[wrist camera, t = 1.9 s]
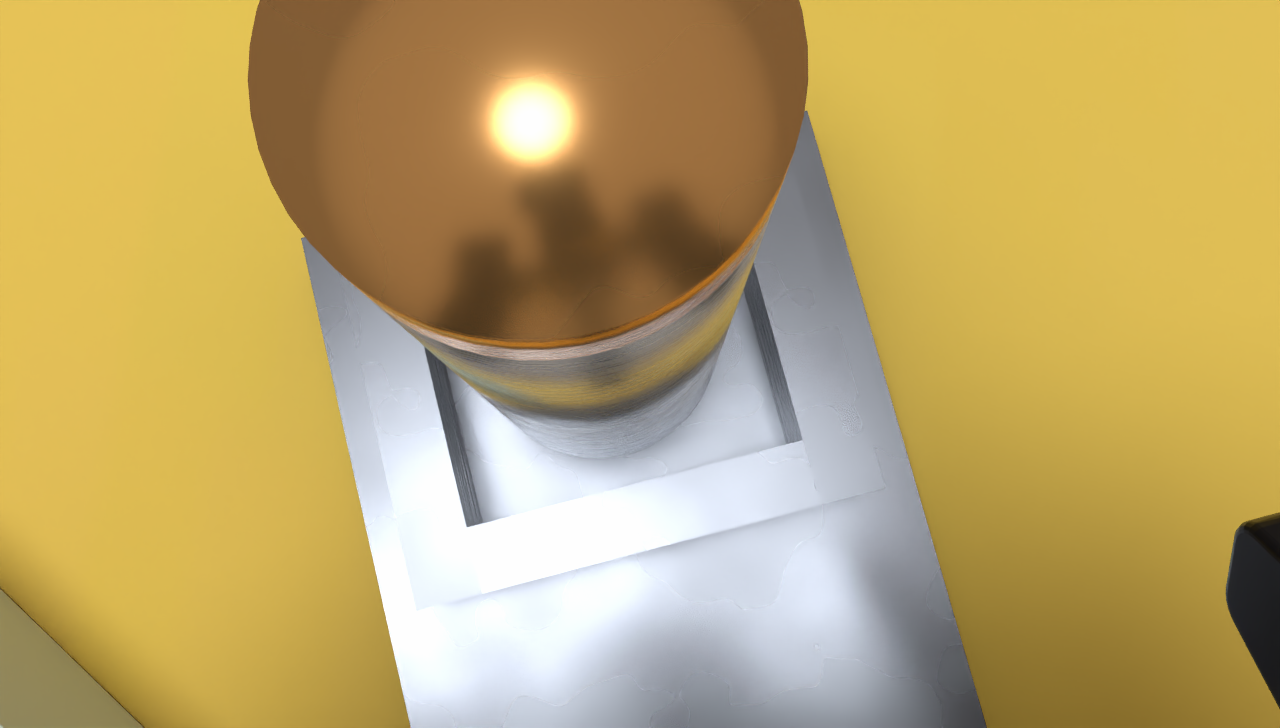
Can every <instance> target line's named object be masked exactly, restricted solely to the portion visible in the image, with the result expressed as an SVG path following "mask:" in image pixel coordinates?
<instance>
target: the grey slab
mask: <svg viewBox="0 0 1280 728" xmlns="http://www.w3.org/2000/svg"><path fill="white" fill-rule="evenodd" d="M301 240H302V244H303V249H304V253H305V257H306V262H307V266H308V271H309V275H310V280H311V284H312V289H313V293H314V298H315V302H316V307H317V311H318V316H319V320H320V325H321V329H322V333H323V338H324V342H325V347H326V351H327V356H328V360H329V365H330V369H331V374H332V378H333V383H334V387H335V392H336V396H337V401H338V405H339V409H340V414H341V418H342V423H343V427H344V432H345V436H346V441H347V445H348V450H349V454H350V459H351V463H352V468H353V472H354V476H355V481H356V485H357V490H358V494H359V499H360V503H361V508H362V512H363V517H364V521H365V526H366V530H367V535H368V539H369V544H370V548H371V552H372V557H373V561H374V566H375V570H376V575H377V579H378V584H379V588H380V593H381V597H382V602H383V606H384V611H385V615H386V620H387V624H388V628H389V633H390V637H391V642H392V646H393V651H394V655H395V660H396V664H397V669H398V673H399V678H400V682H401V687H402V691H403V696H404V700H405V704H406V709H407V713H408V718H409V722H410V727H411V728H987V727H986V723H985V720H984V717H983V713H982V710H981V706H980V703H979V699H978V696H977V693H976V689H975V686H974V682H973V679H972V675H971V672H970V669H969V665H968V662H967V658H966V655H965V651H964V648H963V644H962V641H961V638H960V634H959V631H958V627H957V624H956V620H955V617H954V614H953V610H952V607H951V603H950V600H949V596H948V593H947V590H946V586H945V583H944V579H943V576H942V572H941V569H940V565H939V562H938V559H937V555H936V552H935V548H934V545H933V541H932V538H931V535H930V531H929V528H928V524H927V521H926V517H925V514H924V511H923V507H922V504H921V500H920V497H919V493H918V490H917V486H916V483H915V480H914V476H913V473H912V469H911V466H910V462H909V459H908V456H907V452H906V449H905V445H904V442H903V438H902V435H901V432H900V428H899V425H898V421H897V418H896V414H895V411H894V407H893V404H892V401H891V397H890V394H889V390H888V387H887V383H886V380H885V377H884V373H883V370H882V366H881V363H880V359H879V356H878V352H877V349H876V346H875V342H874V339H873V335H872V332H871V328H870V325H869V322H868V318H867V315H866V311H865V308H864V304H863V301H862V298H861V294H860V291H859V287H858V284H857V280H856V277H855V273H854V270H853V267H852V263H851V260H850V256H849V253H848V249H847V246H846V243H845V239H844V236H843V232H842V229H841V225H840V222H839V219H838V215H837V212H836V208H835V205H834V201H833V198H832V194H831V191H830V188H829V184H828V181H827V177H826V174H825V170H824V167H823V164H822V160H821V157H820V153H819V150H818V146H817V143H816V140H815V136H814V133H813V129H812V126H811V122H810V119H809V115H808V112H807V111H804V117H803V121H802V125H801V129H800V133H799V136H798V140H797V144H796V148H795V151H794V154H793V157H792V159H791V162H790V165H789V167H788V170H787V173H786V176H785V178H784V181H783V184H782V186H781V189H780V192H779V194H778V197H777V200H776V203H775V205H774V208H773V211H772V213H771V216H770V219H769V221H768V224H767V227H766V230H765V232H764V235H763V238H762V240H761V243H760V246H759V248H758V251H757V254H756V257H755V259H754V262H753V265H752V267H751V270H750V273H749V275H748V278H747V281H746V284H745V286H744V289H743V292H742V294H741V297H740V300H739V303H738V305H737V308H736V311H735V313H734V316H733V319H732V321H731V324H730V327H729V330H728V332H727V335H726V338H725V340H724V343H723V346H722V348H721V351H720V354H719V357H718V359H717V362H716V365H715V367H714V370H713V373H712V375H711V378H710V381H709V383H708V385H707V388H706V390H705V393H704V394H703V396H702V398H701V399H700V401H699V403H698V405H697V406H696V407H695V409H694V410H693V411H692V413H691V414H690V415H689V417H688V418H687V419H686V420H685V421H684V422H683V423H682V424H681V425H680V426H679V427H678V428H677V429H676V430H674V431H673V432H672V433H670V434H669V435H668V436H666V437H665V438H664V439H662V440H660V441H658V442H657V443H655V444H653V445H651V446H649V447H647V448H645V449H642V450H640V451H637V452H634V453H630V454H627V455H623V456H617V457H609V458H586V457H578V456H573V455H569V454H565V453H562V452H558V451H556V450H553V449H551V448H549V447H546V446H544V445H542V444H541V443H539V442H537V441H536V440H534V439H532V438H531V437H529V436H528V435H527V434H525V433H524V432H523V431H522V430H520V429H519V428H518V427H517V426H516V425H514V424H513V423H512V422H511V421H510V420H509V419H507V418H506V417H505V416H504V415H503V414H502V413H501V412H499V411H498V410H497V409H496V408H495V407H494V406H492V405H491V404H490V403H489V402H488V401H487V400H486V399H484V398H483V397H482V396H481V395H480V394H479V393H477V392H476V391H475V390H474V389H473V388H472V387H471V386H469V385H468V384H467V383H466V382H465V381H464V380H462V379H461V378H460V377H459V376H458V375H457V374H456V373H454V372H453V371H452V370H451V369H450V368H449V367H447V366H446V365H445V364H444V363H443V362H442V361H441V360H439V359H438V358H437V357H436V356H435V355H434V354H432V353H431V352H430V351H429V350H428V349H427V348H426V347H424V346H423V345H422V344H421V343H420V342H419V341H417V340H416V339H415V338H414V337H413V336H412V335H411V334H409V333H408V332H407V331H406V330H405V329H404V328H403V327H401V326H400V325H399V324H398V323H397V322H396V321H394V320H393V319H392V318H391V317H390V316H389V315H388V314H386V313H385V312H384V311H383V310H382V309H381V308H379V307H378V306H377V305H376V304H375V303H374V302H373V301H371V300H370V299H369V298H368V297H367V296H366V295H364V294H363V293H362V292H361V291H360V290H359V289H358V288H356V287H355V286H354V285H353V284H352V283H351V282H349V281H348V280H347V279H346V278H345V277H344V276H343V275H341V274H340V273H339V272H338V271H337V270H336V269H335V268H334V267H333V266H332V265H331V264H330V263H329V262H328V261H327V260H326V259H325V258H324V257H323V256H322V255H321V254H320V253H319V252H318V251H317V250H316V249H315V248H314V247H313V246H312V245H311V244H310V243H309V242H308V240H307V239H306V237H304V238H301Z"/></svg>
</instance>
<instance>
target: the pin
mask: <svg viewBox="0 0 1280 728" xmlns="http://www.w3.org/2000/svg"><path fill="white" fill-rule="evenodd" d="M807 86H808V46H807V39H806V33H805V26H804V20H803V13H802V9H801V6H800V2H799V0H260V2H259V5H258V8H257V11H256V16H255V21H254V26H253V31H252V37H251V42H250V51H249V70H248V87H249V99H250V111H251V118H252V122H253V127H254V131H255V136H256V140H257V145H258V149H259V152H260V155H261V157H262V160H263V163H264V165H265V168H266V170H267V173H268V176H269V178H270V181H271V183H272V185H273V187H274V189H275V191H276V193H277V194H278V196H279V198H280V200H281V202H282V204H283V205H284V207H285V209H286V211H287V213H288V214H289V216H290V217H291V219H292V220H293V221H294V223H295V224H296V225H297V227H298V228H299V229H300V231H301V232H302V233H303V235H304V236H305V237H306V239H307V240H308V242H309V243H310V244H311V245H312V246H313V247H314V248H315V249H316V250H317V251H318V252H319V253H320V254H321V255H322V256H323V257H324V258H325V259H326V260H327V261H328V262H329V263H330V264H331V265H332V266H333V267H334V268H335V269H336V270H337V271H338V272H339V273H340V274H341V275H343V276H344V277H345V278H346V279H347V280H348V281H349V282H351V283H352V284H353V285H354V286H355V287H356V288H358V289H359V290H360V291H361V292H362V293H363V294H364V295H366V296H367V297H368V298H369V299H370V300H371V301H373V302H374V303H375V304H376V305H377V306H378V307H379V308H381V309H382V310H383V311H384V312H385V313H386V314H388V315H389V316H390V317H391V318H392V319H393V320H394V321H396V322H397V323H398V324H399V325H400V326H401V327H403V328H404V329H405V330H406V331H407V332H408V333H409V334H411V335H412V336H413V337H414V338H415V339H416V340H417V341H419V342H420V343H421V344H422V345H423V346H424V347H426V348H427V349H428V350H429V351H430V352H431V353H432V354H434V355H435V356H436V357H437V358H438V359H439V360H441V361H442V362H443V363H444V364H445V365H446V366H447V367H449V368H450V369H451V370H452V371H453V372H454V373H456V374H457V375H458V376H459V377H460V378H461V379H462V380H464V381H465V382H466V383H467V384H468V385H469V386H471V387H472V388H473V389H474V390H475V391H476V392H477V393H479V394H480V395H481V396H482V397H483V398H484V399H486V400H487V401H488V402H489V403H490V404H491V405H492V406H494V407H495V408H496V409H497V410H498V411H499V412H501V413H502V414H503V415H504V416H505V417H506V418H507V419H509V420H510V421H511V422H512V423H513V424H514V425H516V426H517V427H518V428H519V429H520V430H522V431H523V432H524V433H525V434H527V435H528V436H529V437H531V438H532V439H534V440H536V441H537V442H539V443H541V444H542V445H544V446H546V447H549V448H551V449H553V450H556V451H558V452H562V453H565V454H569V455H573V456H578V457H586V458H609V457H617V456H623V455H627V454H630V453H634V452H637V451H640V450H642V449H645V448H647V447H649V446H651V445H653V444H655V443H657V442H658V441H660V440H662V439H664V438H665V437H666V436H668V435H669V434H670V433H672V432H673V431H674V430H676V429H677V428H678V427H679V426H680V425H681V424H682V423H683V422H684V421H685V420H686V419H687V418H688V417H689V415H690V414H691V413H692V411H693V410H694V409H695V407H696V406H697V405H698V403H699V401H700V399H701V398H702V396H703V394H704V393H705V390H706V388H707V385H708V383H709V381H710V378H711V375H712V373H713V370H714V367H715V365H716V362H717V359H718V357H719V354H720V351H721V348H722V346H723V343H724V340H725V338H726V335H727V332H728V330H729V327H730V324H731V321H732V319H733V316H734V313H735V311H736V308H737V305H738V303H739V300H740V297H741V294H742V292H743V289H744V286H745V284H746V281H747V278H748V275H749V273H750V270H751V267H752V265H753V262H754V259H755V257H756V254H757V251H758V248H759V246H760V243H761V240H762V238H763V235H764V232H765V230H766V227H767V224H768V221H769V219H770V216H771V213H772V211H773V208H774V205H775V203H776V200H777V197H778V194H779V192H780V189H781V186H782V184H783V181H784V178H785V176H786V173H787V170H788V167H789V165H790V162H791V159H792V157H793V154H794V151H795V148H796V144H797V140H798V136H799V133H800V129H801V125H802V121H803V117H804V111H805V103H806V94H807Z"/></svg>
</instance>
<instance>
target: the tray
mask: <svg viewBox="0 0 1280 728" xmlns="http://www.w3.org/2000/svg"><path fill="white" fill-rule="evenodd" d="M0 728H144V727H142V726H141V725H140V724H139V723H138V722H137V721H136V720H135V719H134V718H133V717H132V716H131V715H130V714H129V713H128V712H127V711H126V710H125V709H124V708H123V707H122V706H121V705H120V704H119V703H118V702H117V701H116V700H115V699H114V698H113V697H112V696H110V695H109V694H108V693H107V692H106V691H105V690H104V689H103V688H102V687H101V686H100V685H99V684H98V683H97V682H96V681H95V680H94V679H93V678H92V677H91V676H90V675H89V674H88V673H87V672H86V671H85V670H84V669H83V668H82V667H81V666H79V665H78V664H77V663H76V662H75V661H74V660H73V659H72V658H71V657H70V656H69V655H68V654H67V653H66V652H65V651H64V650H63V649H62V648H61V647H60V646H59V645H58V644H57V643H56V642H55V641H54V640H53V639H52V638H51V637H50V636H49V635H47V634H46V633H45V632H44V631H43V630H42V629H41V628H40V627H39V626H38V625H37V624H36V623H35V622H34V621H33V620H32V619H31V618H30V617H29V616H28V615H27V614H26V613H25V612H24V611H23V610H22V609H21V608H20V607H19V606H18V605H17V604H15V603H14V602H13V601H12V600H11V599H10V598H9V597H8V596H7V595H6V594H5V593H4V592H3V591H2V590H1V589H0Z"/></svg>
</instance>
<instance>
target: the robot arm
mask: <svg viewBox="0 0 1280 728" xmlns="http://www.w3.org/2000/svg"><path fill="white" fill-rule="evenodd" d="M1226 601H1227V605H1228V609H1229V612H1230V614H1231V617H1232V619H1233V621H1234V623H1235V625H1236V627H1237V629H1238V631H1239V633H1240V635H1241V637H1242V639H1243V640H1244V642H1245V644H1246V646H1247V648H1248V650H1249V652H1250V654H1251V656H1252V657H1253V659H1254V661H1255V663H1256V665H1257V667H1258V669H1259V671H1260V673H1261V674H1262V676H1263V678H1264V680H1265V682H1266V684H1267V686H1268V688H1269V690H1270V691H1271V693H1272V695H1273V697H1274V699H1275V701H1276V703H1277V705H1278V707H1279V709H1280V513H1276V514H1272V515H1268V516H1264V517H1261V518H1257V519H1253V520H1249V521H1246V522H1244V523H1242V524H1241V525H1240V526H1239V528H1238V529H1237V530H1236V533H1235V536H1234V542H1233V548H1232V554H1231V560H1230V566H1229V572H1228V578H1227V584H1226Z"/></svg>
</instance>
